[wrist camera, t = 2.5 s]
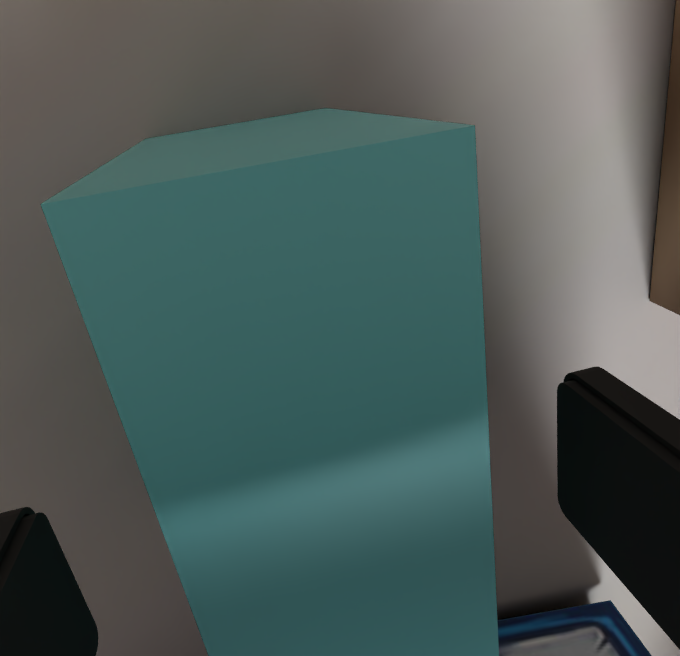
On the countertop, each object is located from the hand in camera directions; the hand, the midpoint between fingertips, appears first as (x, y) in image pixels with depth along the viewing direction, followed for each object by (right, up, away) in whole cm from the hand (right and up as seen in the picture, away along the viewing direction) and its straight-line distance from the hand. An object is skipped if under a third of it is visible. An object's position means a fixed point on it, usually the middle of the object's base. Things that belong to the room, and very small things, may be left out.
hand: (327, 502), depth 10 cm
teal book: (-1, +3, +6) cm, 7 cm away
